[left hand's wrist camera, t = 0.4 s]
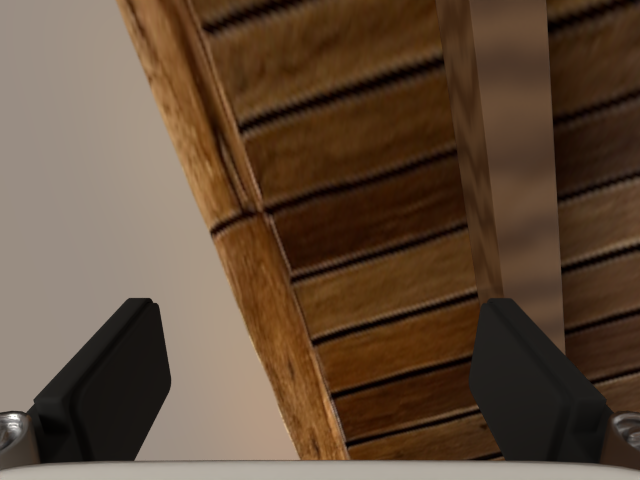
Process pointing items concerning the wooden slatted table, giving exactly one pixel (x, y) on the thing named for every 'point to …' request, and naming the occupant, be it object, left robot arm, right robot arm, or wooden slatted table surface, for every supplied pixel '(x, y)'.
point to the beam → (506, 150)
